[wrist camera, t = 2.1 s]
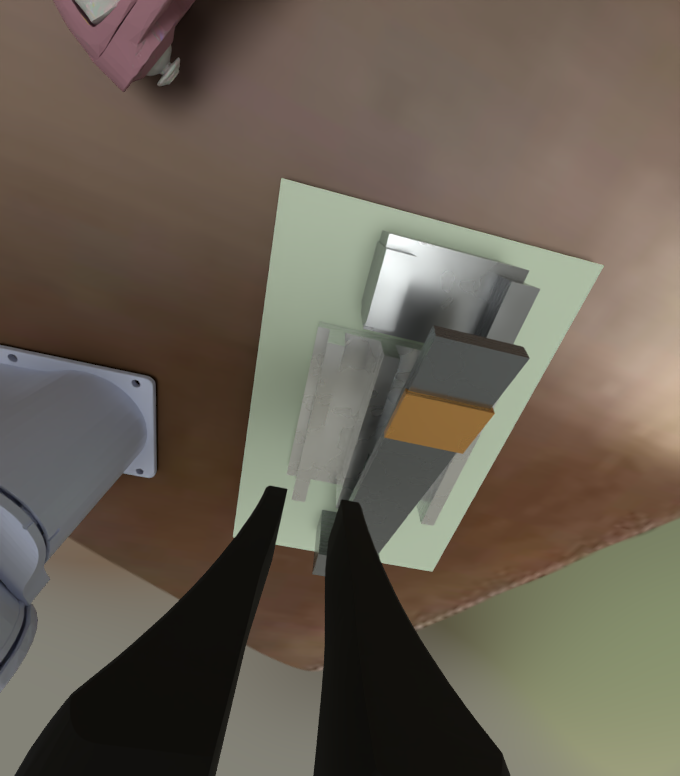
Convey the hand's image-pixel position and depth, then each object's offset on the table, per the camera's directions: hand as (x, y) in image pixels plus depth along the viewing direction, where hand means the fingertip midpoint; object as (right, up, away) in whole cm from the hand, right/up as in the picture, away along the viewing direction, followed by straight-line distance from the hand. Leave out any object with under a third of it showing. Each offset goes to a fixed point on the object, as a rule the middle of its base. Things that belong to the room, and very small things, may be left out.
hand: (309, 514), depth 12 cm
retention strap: (+4, 0, +4) cm, 6 cm away
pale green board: (+3, +2, +10) cm, 11 cm away
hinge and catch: (+4, +2, +9) cm, 10 cm away
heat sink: (+4, +3, +9) cm, 10 cm away
